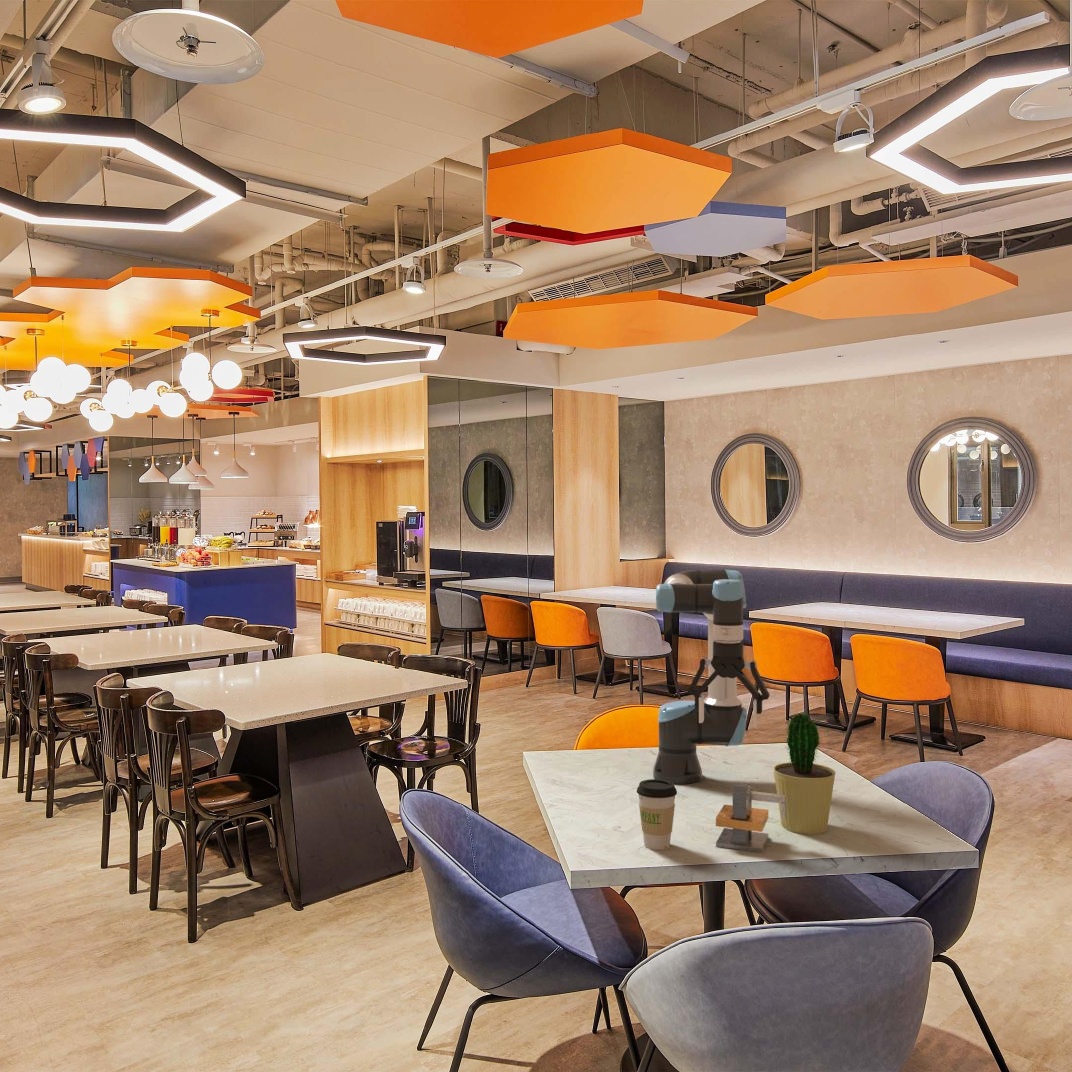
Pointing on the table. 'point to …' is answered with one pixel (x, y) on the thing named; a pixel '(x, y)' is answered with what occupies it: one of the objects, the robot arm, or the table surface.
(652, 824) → the coffee cup
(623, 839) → the table surface
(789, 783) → the potted cactus
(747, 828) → the tiered post stand
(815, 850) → the table surface
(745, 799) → the gray rectangular bar
